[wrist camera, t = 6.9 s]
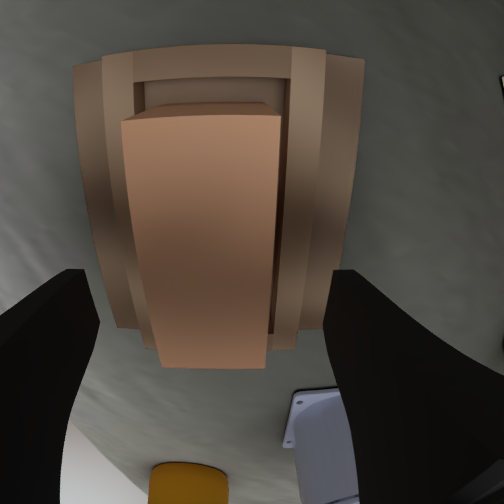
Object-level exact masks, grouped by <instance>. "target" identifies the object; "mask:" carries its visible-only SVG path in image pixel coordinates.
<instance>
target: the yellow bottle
mask: <svg viewBox="0 0 504 504" xmlns="http://www.w3.org/2000/svg"><path fill="white" fill-rule="evenodd" d="M228 497H229V488H228V481H227V478H226V476H225V475H224V474H223V473H222V472H221V471H219V470H217V469H214V468H211V467H208V466H203V465H198V464H191V463H165V464H161V465H158V466H156V467H155V468H154V469H153V471H152V473H151V476H150V481H149V496H148V504H228Z"/></svg>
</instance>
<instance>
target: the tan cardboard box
mask: <svg viewBox="0 0 504 504" xmlns="http://www.w3.org/2000/svg"><path fill="white" fill-rule="evenodd" d="M280 125H281V116H280V115H279V114H278V113H277V112H276V111H274V110H273V109H272V108H271V107H270V106H269V105H267V104H266V103H265V102H190V103H172V104H162V105H159V106H156V107H154V108H151V109H149V110H146V111H144V112H141V113H139V114H136V115H134V116H131V117H129V118H127V119H124V120H122V121H121V132H122V144H123V156H124V166H125V175H126V184H127V192H128V200H129V208H130V215H131V222H132V228H133V235H134V241H135V247H136V253H137V258H138V264H139V269H140V275H141V280H142V285H143V290H144V295H145V299H146V304H147V309H148V313H149V318H150V322H151V326H152V330H153V335H154V339H155V343H156V347H157V351H158V355H159V358H160V362H161V366H162V367H166V368H191V369H265V362H266V349H267V337H268V323H269V310H270V296H271V282H272V267H273V252H274V237H275V220H276V203H277V185H278V167H279V147H280Z"/></svg>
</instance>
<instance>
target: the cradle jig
mask: <svg viewBox="0 0 504 504" xmlns="http://www.w3.org/2000/svg"><path fill="white" fill-rule="evenodd" d="M364 65H365V60H363V59H357V58H351V57H345V56H338V55H331V54H326V50H323V49H314V48H304V47H293V46H279V45H258V44H210V45H188V46H174V47H163V48H154V49H145V50H137V51H130V52H123V53H117V54H111V55H106V56H102V60H99V61H94V62H89V63H84V64H80V65H75V66H73V93H74V109H75V122H76V132H77V142H78V151H79V159H80V166H81V173H82V180H83V186H84V192H85V198H86V204H87V209H88V215H89V220H90V225H91V230H92V234H93V239H94V244H95V248H96V252H97V257H98V261H99V265H100V269H101V273H102V277H103V280H104V284H105V288H106V292H107V295H108V299H109V302H110V306H111V309H112V312H113V316H114V319H115V322H116V325H117V328H130V329H140V331H141V335H142V338H143V342H144V346H145V349H157V347H156V343H155V339H154V335H153V330H152V326H151V322H150V318H149V313H148V309H147V304H146V299H145V295H144V290H143V285H142V280H141V275H140V269H139V264H138V258H137V253H136V247H135V241H134V235H133V228H132V222H131V215H130V208H129V200H128V192H127V184H126V175H125V166H124V156H123V144H122V132H121V121H122V120H124V119H127V118H129V117H131V116H134V115H136V114H139V113H141V112H144V111H146V110H149V109H151V108H154V107H156V106H159V105H162V104H172V103H190V102H265V103H266V104H267V105H269V106H270V107H271V108H272V109H273V110H274V111H276V112H277V113H278V114H279V115H280V116H281V125H280V147H279V167H278V185H277V203H276V220H275V237H274V252H273V267H272V282H271V296H270V310H269V323H268V337H267V349H266V350H292V349H295V345H296V339H297V333H298V330H302V329H323V320H324V315H325V310H326V305H327V300H328V295H329V290H330V284H331V279H332V274H333V270H339V266H340V261H341V255H342V250H343V244H344V238H345V233H346V227H347V220H348V214H349V208H350V201H351V194H352V187H353V180H354V172H355V165H356V156H357V148H358V139H359V129H360V119H361V108H362V96H363V82H364Z"/></svg>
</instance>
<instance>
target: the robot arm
mask: <svg viewBox="0 0 504 504" xmlns="http://www.w3.org/2000/svg"><path fill="white" fill-rule="evenodd" d="M99 325H100V320H99V317H98V314H97V311H96V308H95V305H94V301H93V298H92V295H91V292H90V288H89V285H88V281H87V278H86V274H85V271H84V269H66V270H64V271H63V272H61V273H59V274H58V275H56V276H54V277H53V278H51V279H50V280H48V281H47V282H46V283H44V284H43V285H41V286H40V287H39V288H37V289H36V290H34V291H33V292H32V293H30V294H29V295H28V296H26V297H25V298H24V299H22V300H21V301H20V302H18V303H17V304H16V305H14V306H13V307H11V308H10V309H8V310H7V311H6V312H4V313H3V314H1V315H0V504H60V475H61V464H62V455H63V447H64V441H65V435H66V430H67V424H68V420H69V416H70V413H71V409H72V406H73V403H74V401H75V398H76V395H77V392H78V389H79V387H80V384H81V381H82V379H83V376H84V373H85V371H86V368H87V365H88V363H89V360H90V357H91V355H92V352H93V349H94V345H95V341H96V338H97V333H98V329H99ZM323 330H324V336H325V342H326V347H327V352H328V356H329V360H330V363H331V366H332V369H333V373H334V376H335V379H336V382H337V385H338V388H335V389H325V390H313V391H300V392H297V393H295V394H294V396H293V400H292V404H291V409H290V413H289V418H288V422H287V426H286V431H285V435H284V439H283V443H282V444H283V447H284V448H294V455H295V463H296V470H297V478H298V486H299V493H300V498H301V501H302V503H303V504H504V376H503V375H501V374H499V373H497V372H495V371H493V370H491V369H489V368H488V367H486V366H484V365H482V364H480V363H478V362H476V361H475V360H473V359H471V358H469V357H468V356H466V355H464V354H463V353H461V352H460V351H458V350H457V349H455V348H454V347H452V346H450V345H449V344H447V343H446V342H444V341H443V340H441V339H440V338H438V337H437V336H436V335H434V334H433V333H431V332H430V331H429V330H428V329H426V328H425V327H424V326H422V325H421V324H420V323H418V322H417V321H416V320H414V319H413V318H412V317H411V316H409V315H408V314H407V313H406V312H404V311H403V310H402V309H401V308H399V307H398V306H397V305H396V304H395V303H393V302H392V301H391V300H390V299H389V298H388V297H386V296H385V295H384V294H383V293H382V292H380V291H379V290H378V289H377V288H376V287H375V286H373V285H372V284H371V283H370V282H369V281H367V280H366V279H365V278H364V277H363V276H361V275H360V274H359V273H357V272H356V271H355V270H333V274H332V279H331V284H330V290H329V295H328V300H327V305H326V310H325V315H324V320H323Z"/></svg>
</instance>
